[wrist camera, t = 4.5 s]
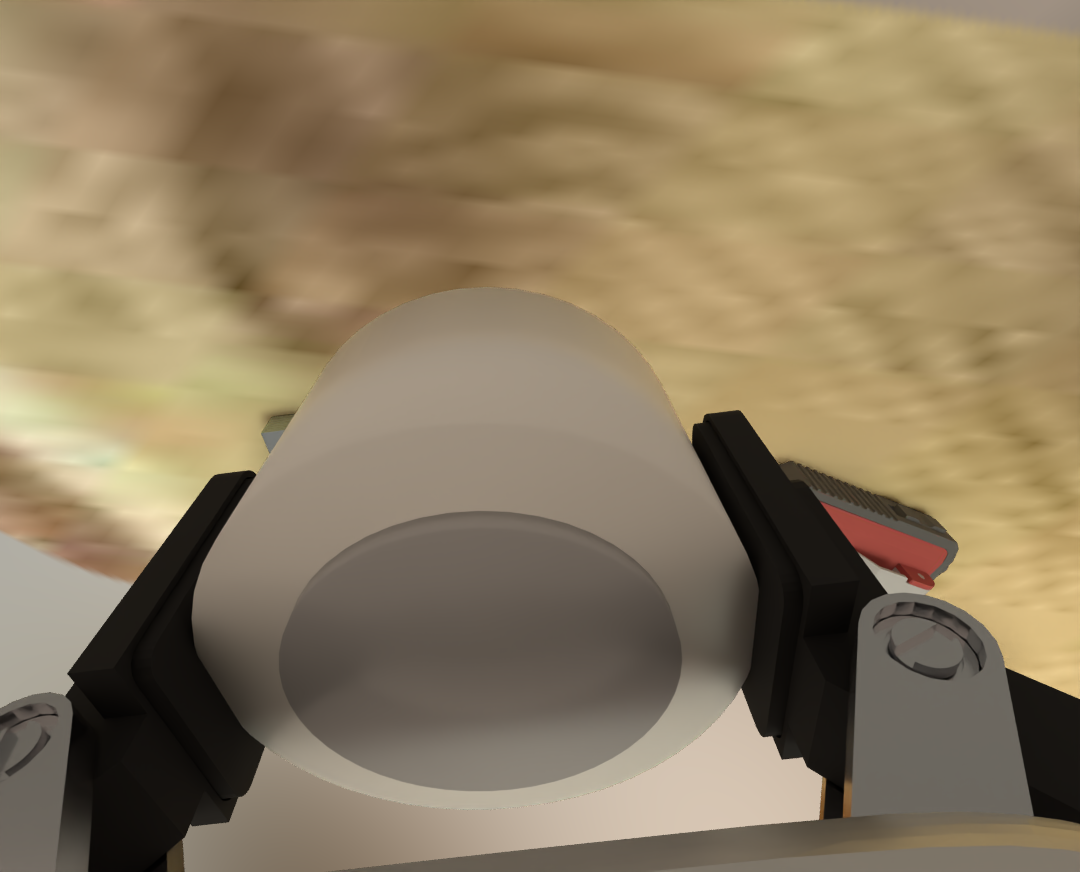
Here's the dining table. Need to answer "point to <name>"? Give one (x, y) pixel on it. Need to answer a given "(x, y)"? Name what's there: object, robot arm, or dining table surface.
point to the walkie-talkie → (884, 532)
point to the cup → (479, 565)
